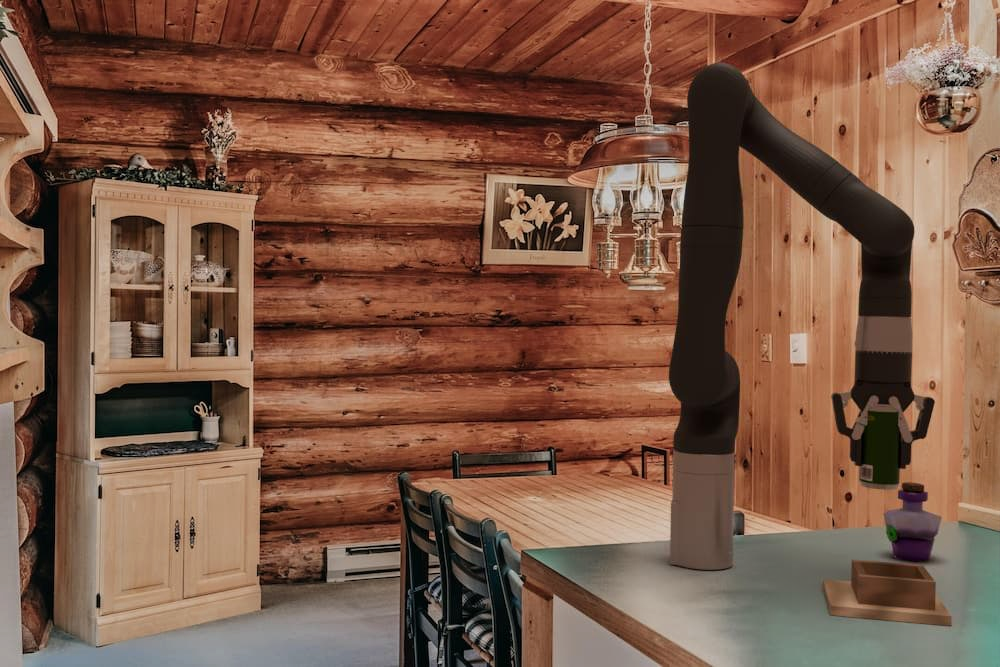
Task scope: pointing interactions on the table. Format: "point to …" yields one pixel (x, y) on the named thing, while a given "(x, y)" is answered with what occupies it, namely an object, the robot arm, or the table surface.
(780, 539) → the table surface
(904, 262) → the robot arm
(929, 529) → the potion bottle
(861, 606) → the can caddy
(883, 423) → the beer can
